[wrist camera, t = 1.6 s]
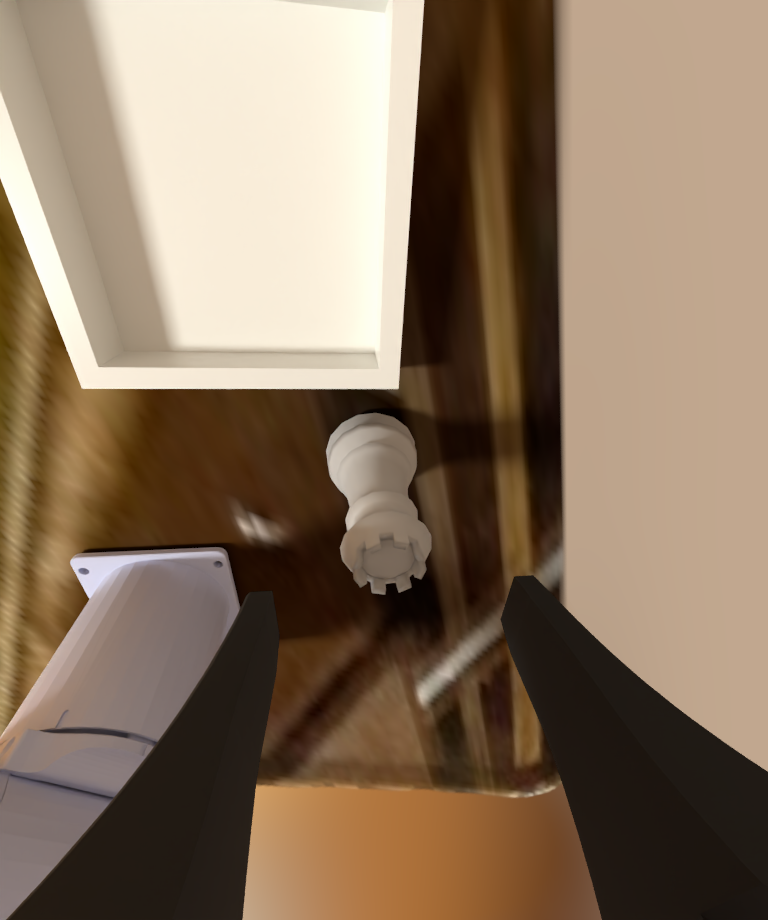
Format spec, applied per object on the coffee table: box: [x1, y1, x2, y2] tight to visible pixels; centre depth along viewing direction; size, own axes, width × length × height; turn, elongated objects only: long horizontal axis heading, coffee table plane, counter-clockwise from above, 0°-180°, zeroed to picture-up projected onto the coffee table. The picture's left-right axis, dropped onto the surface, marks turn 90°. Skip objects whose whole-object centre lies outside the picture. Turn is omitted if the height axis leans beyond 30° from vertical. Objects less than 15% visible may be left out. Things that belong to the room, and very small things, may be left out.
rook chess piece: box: [326, 413, 431, 595], centre depth 16 cm, size 4×4×8 cm
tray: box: [0, 0, 424, 389], centre depth 13 cm, size 12×12×2 cm
